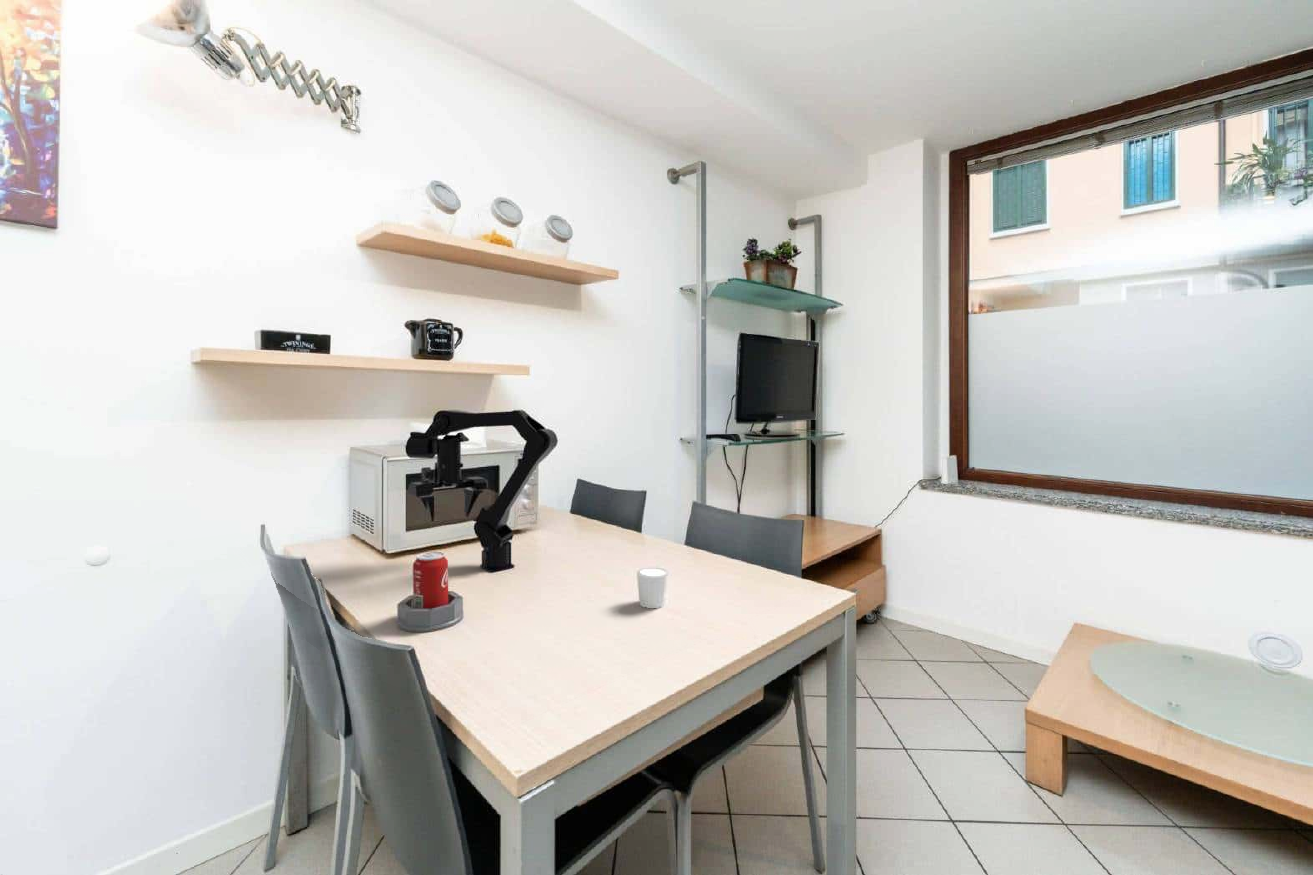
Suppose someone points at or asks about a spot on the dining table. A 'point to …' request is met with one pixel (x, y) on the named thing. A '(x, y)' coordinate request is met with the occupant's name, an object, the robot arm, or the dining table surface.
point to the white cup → (652, 587)
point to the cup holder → (429, 615)
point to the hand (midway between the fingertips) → (449, 519)
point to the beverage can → (430, 580)
